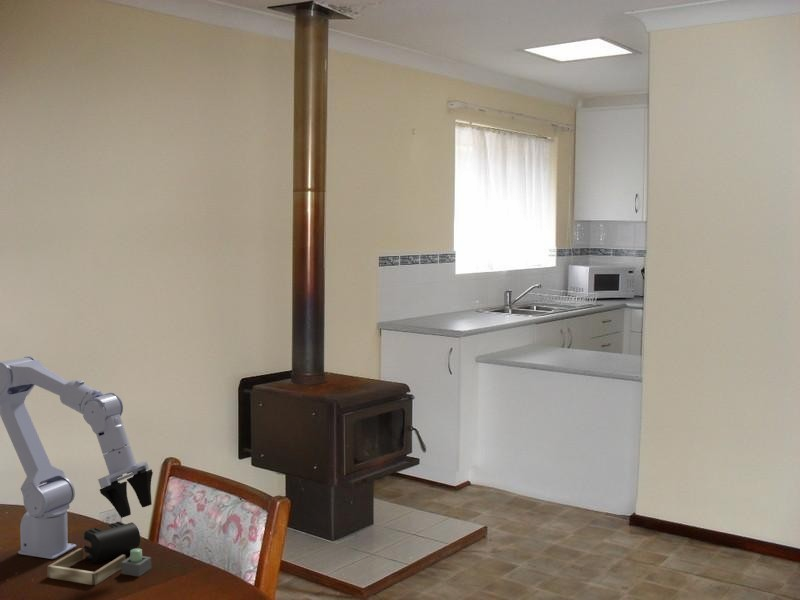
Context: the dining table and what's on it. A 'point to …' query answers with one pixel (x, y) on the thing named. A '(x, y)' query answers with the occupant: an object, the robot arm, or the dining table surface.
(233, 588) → the dining table surface
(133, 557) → the button
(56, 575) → the cream square frame
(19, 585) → the dining table surface
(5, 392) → the robot arm
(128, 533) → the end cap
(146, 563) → the button housing
